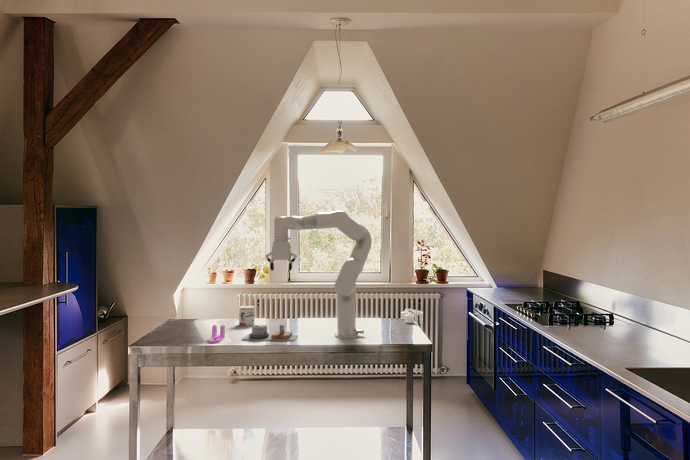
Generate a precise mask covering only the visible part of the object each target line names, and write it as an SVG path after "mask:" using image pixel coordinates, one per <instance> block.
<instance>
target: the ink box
mask: <svg viewBox="0 0 690 460" xmlns="http://www.w3.org/2000/svg"><path fill="white" fill-rule="evenodd" d="M238 307H239V309H238V310H239V313H238V318H239V319H238V322H239V323H238V326H239V327H250V326H251V327H252V326H255V306H254V305H240V306H238Z"/></svg>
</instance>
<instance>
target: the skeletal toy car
mask: <svg viewBox="0 0 690 460" xmlns="http://www.w3.org/2000/svg"><path fill="white" fill-rule="evenodd" d="M417 316H419V324H420V325H422V324H423V323H424V318H423V317H424V312H423V311H421V310H417V309H412V308H405V309H404V311H401V312H400V319H401V320H402V321H403V320H404V323H406V324H413V323H415V322H417Z"/></svg>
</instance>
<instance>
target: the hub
mask: <svg viewBox="0 0 690 460" xmlns="http://www.w3.org/2000/svg"><path fill="white" fill-rule="evenodd" d="M256 325H257V327H262V325H263V324H256ZM269 333H270V332H269ZM269 333H268V332H267V334H266V335H261V336H256V335H252V332H251V333H249V334H248V335H249V338H251V339H265V338H268V337H269V335H270V334H269Z"/></svg>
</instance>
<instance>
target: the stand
mask: <svg viewBox="0 0 690 460" xmlns="http://www.w3.org/2000/svg"><path fill="white" fill-rule="evenodd" d="M270 335H271V339H290V338H291V336H292V335H293V331H285V324H279V331H274V332H273V333H272V334H270Z"/></svg>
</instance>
